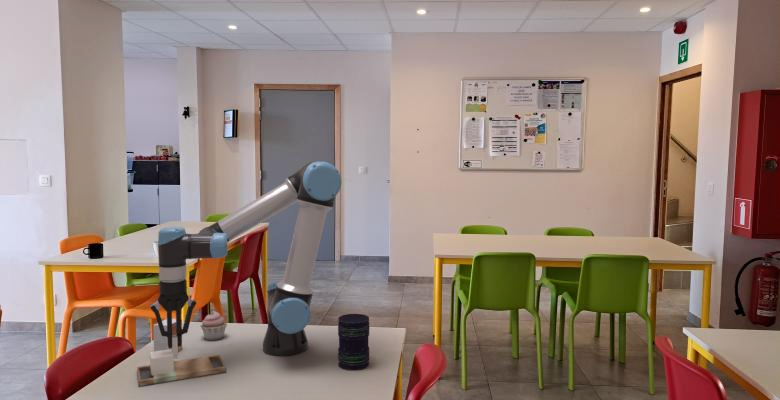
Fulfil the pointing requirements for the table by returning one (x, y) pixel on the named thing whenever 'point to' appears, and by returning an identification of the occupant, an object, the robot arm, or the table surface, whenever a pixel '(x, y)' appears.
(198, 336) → the table surface
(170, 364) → the block
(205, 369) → the board
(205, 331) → the cupcake
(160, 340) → the small box
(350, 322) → the storage jar
